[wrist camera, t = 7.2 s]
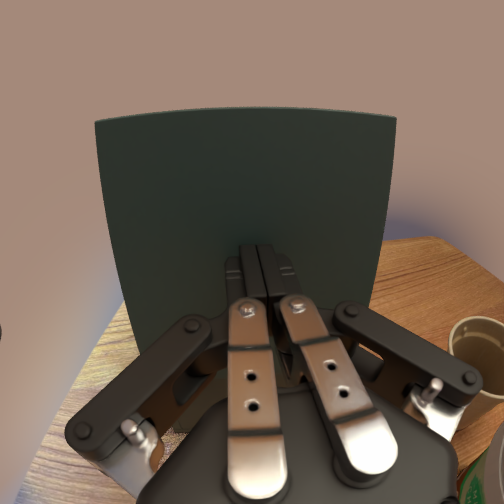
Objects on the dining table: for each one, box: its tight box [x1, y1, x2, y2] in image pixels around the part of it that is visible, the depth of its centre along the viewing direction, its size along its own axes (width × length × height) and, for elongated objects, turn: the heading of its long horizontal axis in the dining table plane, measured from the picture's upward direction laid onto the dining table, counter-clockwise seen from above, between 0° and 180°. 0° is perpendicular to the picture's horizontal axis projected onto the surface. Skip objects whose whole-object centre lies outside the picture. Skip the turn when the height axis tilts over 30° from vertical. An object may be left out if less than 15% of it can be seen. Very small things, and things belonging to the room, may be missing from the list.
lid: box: [95, 107, 397, 379], centre depth 16 cm, size 16×14×1 cm
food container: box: [456, 421, 504, 504], centre depth 11 cm, size 12×6×10 cm, turn 9°
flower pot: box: [447, 316, 504, 430], centre depth 22 cm, size 9×9×9 cm
